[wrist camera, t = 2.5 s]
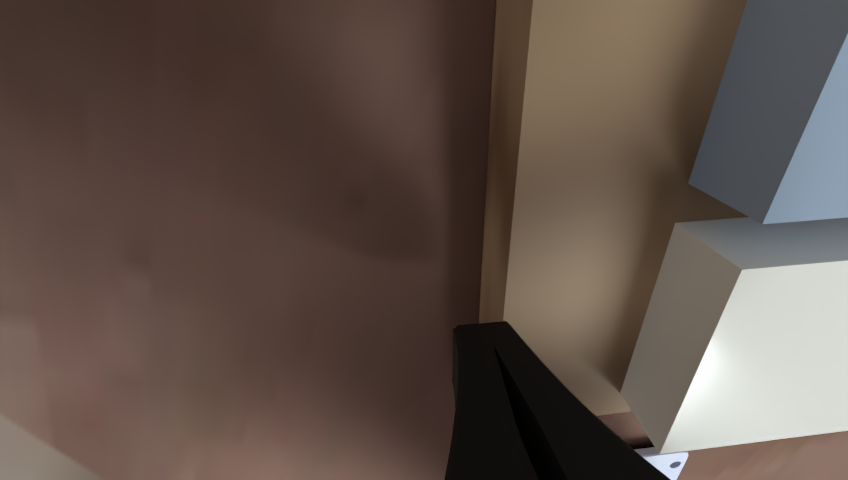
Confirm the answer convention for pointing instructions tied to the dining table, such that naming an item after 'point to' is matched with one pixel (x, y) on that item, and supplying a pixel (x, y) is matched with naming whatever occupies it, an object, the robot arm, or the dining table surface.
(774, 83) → the tile blue
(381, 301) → the dining table surface
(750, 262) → the tile white
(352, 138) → the dining table surface
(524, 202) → the board
